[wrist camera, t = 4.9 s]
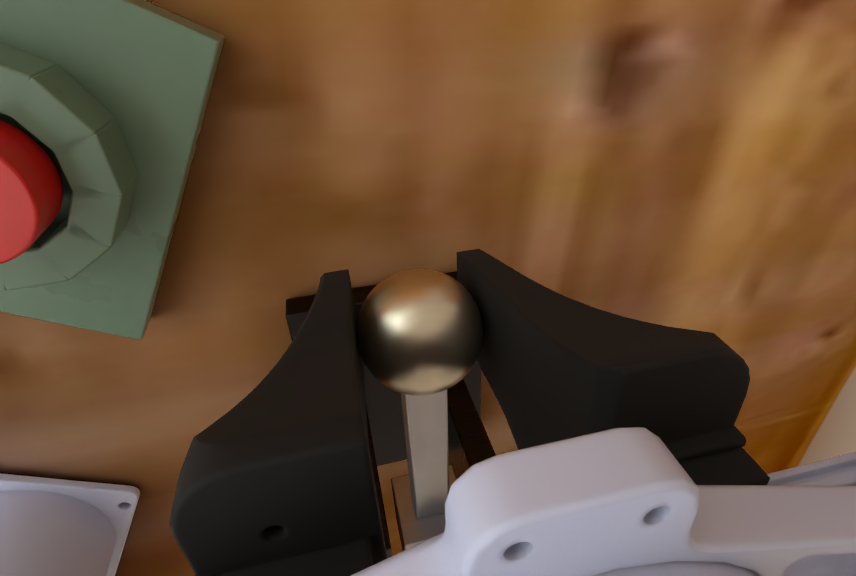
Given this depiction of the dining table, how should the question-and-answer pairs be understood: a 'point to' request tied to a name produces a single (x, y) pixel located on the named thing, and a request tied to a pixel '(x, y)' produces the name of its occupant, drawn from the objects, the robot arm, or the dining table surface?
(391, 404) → the switch bracket
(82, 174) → the switch box
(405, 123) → the dining table surface
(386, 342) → the lever
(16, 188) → the button
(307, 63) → the dining table surface
